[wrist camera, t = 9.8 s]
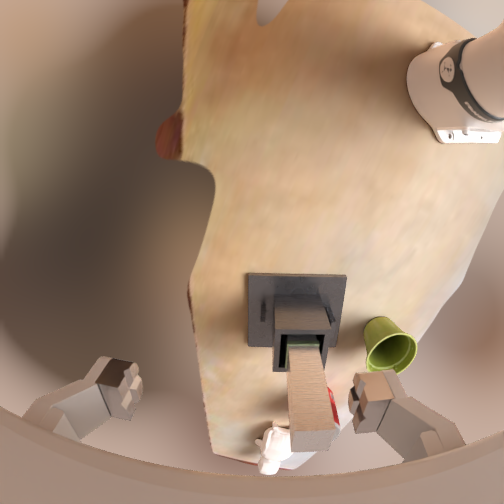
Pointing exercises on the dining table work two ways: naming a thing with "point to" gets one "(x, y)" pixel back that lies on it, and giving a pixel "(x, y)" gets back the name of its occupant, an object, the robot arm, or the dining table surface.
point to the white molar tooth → (273, 449)
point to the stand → (294, 310)
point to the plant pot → (388, 346)
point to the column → (307, 395)
